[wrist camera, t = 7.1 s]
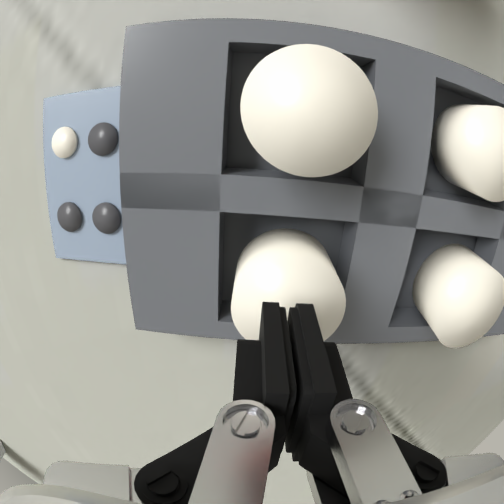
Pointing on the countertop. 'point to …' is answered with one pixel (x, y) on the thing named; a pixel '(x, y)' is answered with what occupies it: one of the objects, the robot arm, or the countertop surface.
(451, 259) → the button
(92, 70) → the countertop surface
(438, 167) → the button
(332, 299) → the button
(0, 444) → the skincare box
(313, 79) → the button
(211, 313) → the button board
